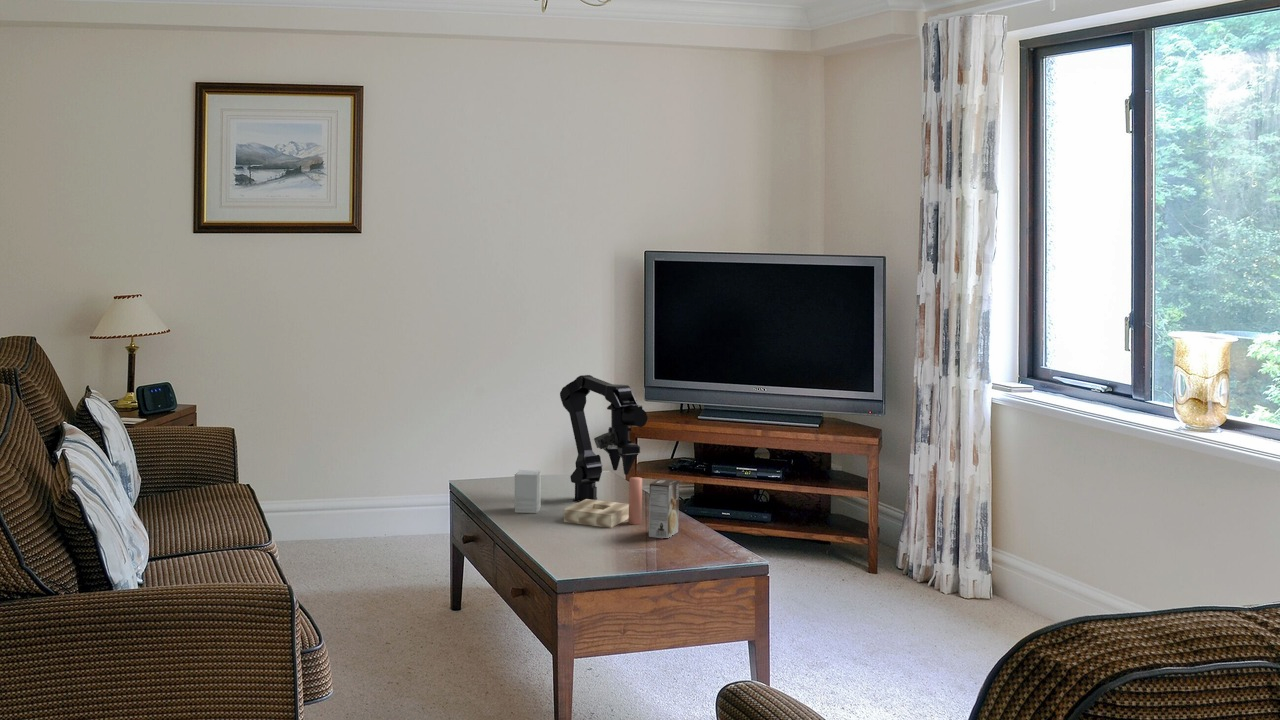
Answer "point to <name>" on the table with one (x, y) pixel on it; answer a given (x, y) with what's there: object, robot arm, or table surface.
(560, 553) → the table surface
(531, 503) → the supplement box
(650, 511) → the white food box
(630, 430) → the robot arm
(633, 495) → the peg
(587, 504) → the socket board
